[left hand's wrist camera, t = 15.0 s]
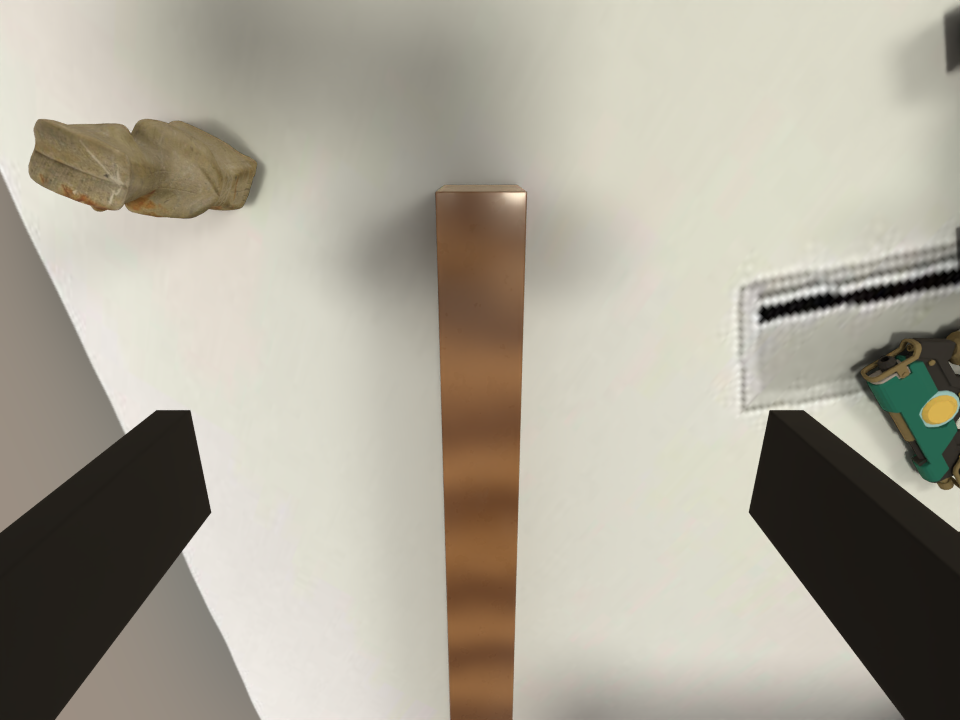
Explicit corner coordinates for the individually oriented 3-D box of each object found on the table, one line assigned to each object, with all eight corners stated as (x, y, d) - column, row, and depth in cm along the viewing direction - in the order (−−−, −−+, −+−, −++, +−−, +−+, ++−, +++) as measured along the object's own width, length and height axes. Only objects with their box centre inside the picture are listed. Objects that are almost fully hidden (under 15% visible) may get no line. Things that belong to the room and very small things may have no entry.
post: (443, 184, 43) (435, 191, 35) (518, 184, 43) (527, 191, 35) (456, 749, 65) (453, 834, 57) (505, 749, 65) (509, 834, 57)
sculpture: (184, 105, 41) (28, 79, 26) (276, 155, 42) (172, 154, 28) (161, 178, 42) (3, 189, 28) (249, 223, 44) (140, 256, 29)
